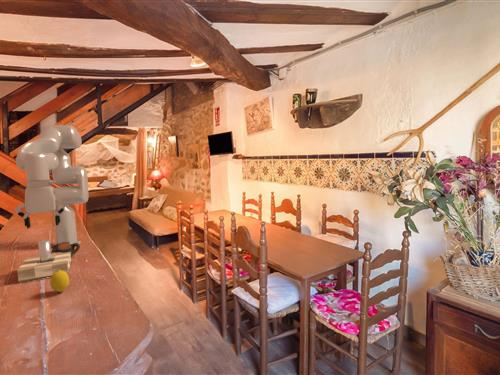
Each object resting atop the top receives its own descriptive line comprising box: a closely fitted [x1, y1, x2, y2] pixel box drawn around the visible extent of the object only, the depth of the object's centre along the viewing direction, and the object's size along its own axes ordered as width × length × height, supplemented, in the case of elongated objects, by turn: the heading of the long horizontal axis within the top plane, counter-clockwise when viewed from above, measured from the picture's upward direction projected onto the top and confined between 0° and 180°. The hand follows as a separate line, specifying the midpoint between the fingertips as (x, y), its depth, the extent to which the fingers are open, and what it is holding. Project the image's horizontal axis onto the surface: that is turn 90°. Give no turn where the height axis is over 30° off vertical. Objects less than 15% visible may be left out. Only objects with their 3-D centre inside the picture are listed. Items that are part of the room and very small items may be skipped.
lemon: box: [50, 270, 70, 293], centre depth 103 cm, size 6×6×8 cm
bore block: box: [17, 252, 72, 284], centre depth 122 cm, size 16×16×5 cm
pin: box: [37, 239, 52, 263], centre depth 122 cm, size 4×4×12 cm
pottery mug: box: [51, 242, 81, 258], centre depth 143 cm, size 12×10×8 cm
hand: (43, 226), depth 121 cm, fingers open, 9 cm apart
